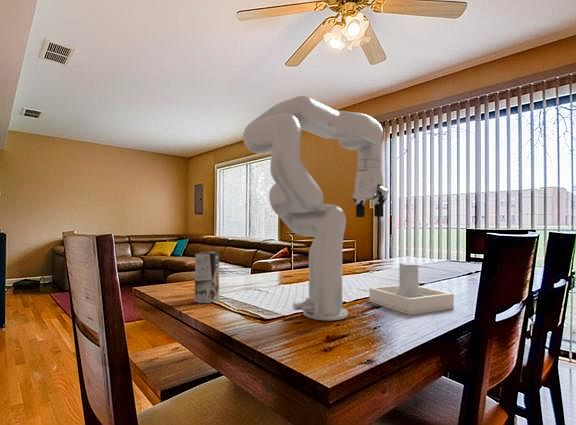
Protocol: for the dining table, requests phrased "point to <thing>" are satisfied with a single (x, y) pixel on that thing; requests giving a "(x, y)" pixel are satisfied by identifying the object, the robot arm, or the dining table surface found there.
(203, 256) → the coffee box
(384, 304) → the tray
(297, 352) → the dining table surface
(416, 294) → the skincare box
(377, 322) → the dining table surface
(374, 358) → the dining table surface
